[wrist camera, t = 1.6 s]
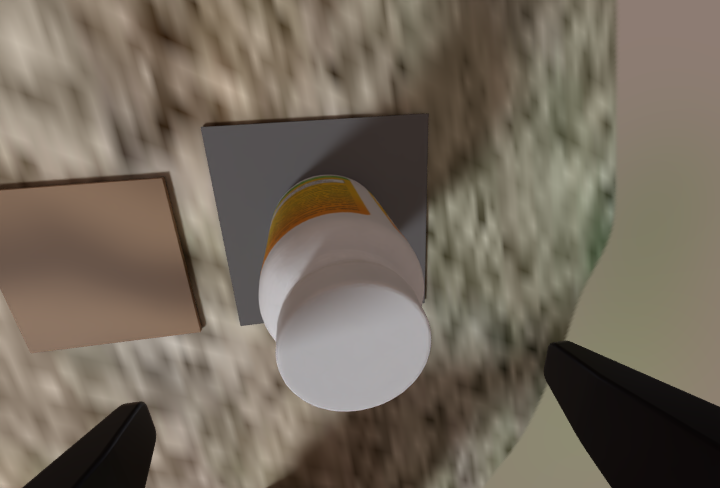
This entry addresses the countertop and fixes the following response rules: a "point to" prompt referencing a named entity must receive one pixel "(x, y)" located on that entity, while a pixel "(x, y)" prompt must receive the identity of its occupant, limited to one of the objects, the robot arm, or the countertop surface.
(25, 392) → the countertop surface
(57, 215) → the walnut coaster
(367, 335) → the supplement bottle
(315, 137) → the mat
